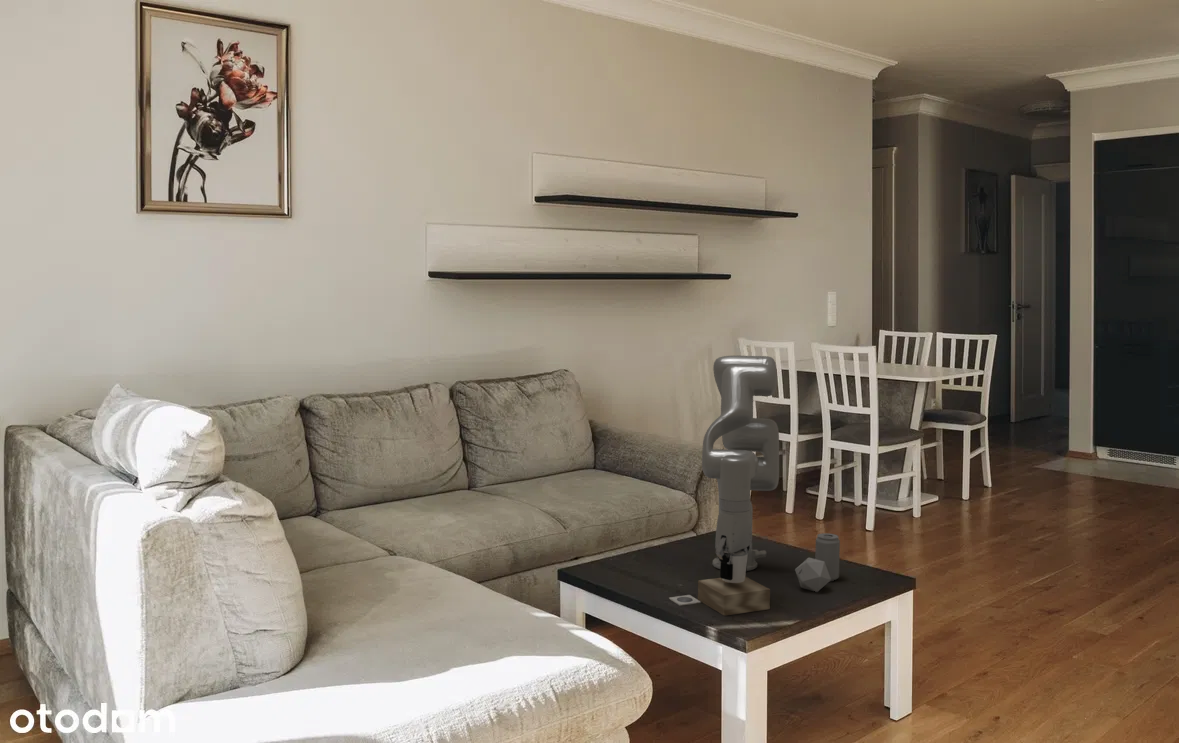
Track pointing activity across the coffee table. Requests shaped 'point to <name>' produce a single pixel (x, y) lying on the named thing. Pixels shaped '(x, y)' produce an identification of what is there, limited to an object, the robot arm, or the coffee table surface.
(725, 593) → the oak block
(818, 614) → the coffee table surface
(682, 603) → the tile
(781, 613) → the coffee table surface
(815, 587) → the die
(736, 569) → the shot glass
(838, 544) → the beverage can
